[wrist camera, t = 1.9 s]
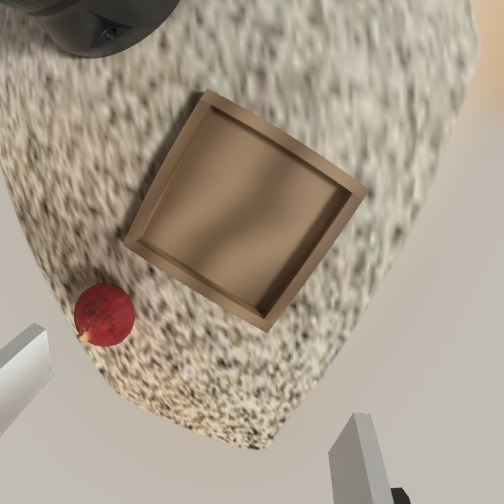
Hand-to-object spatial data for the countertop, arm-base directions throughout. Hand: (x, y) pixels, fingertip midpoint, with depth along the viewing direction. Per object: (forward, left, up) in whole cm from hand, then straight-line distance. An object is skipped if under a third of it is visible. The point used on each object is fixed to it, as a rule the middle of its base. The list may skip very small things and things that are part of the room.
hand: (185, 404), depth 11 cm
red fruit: (-8, -10, -18) cm, 22 cm away
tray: (-2, +4, -18) cm, 18 cm away
